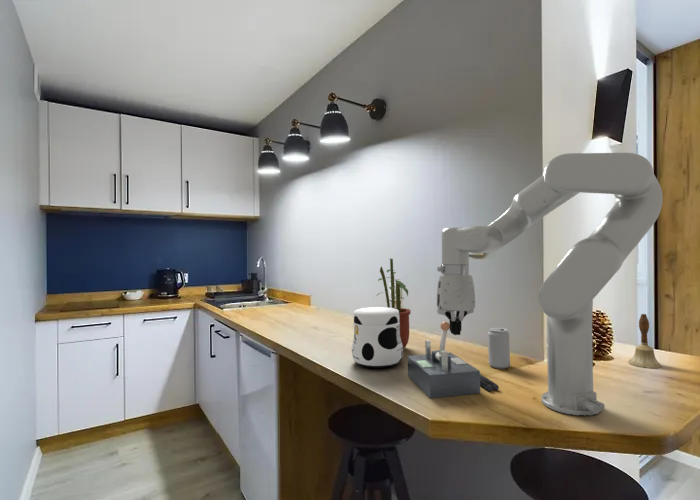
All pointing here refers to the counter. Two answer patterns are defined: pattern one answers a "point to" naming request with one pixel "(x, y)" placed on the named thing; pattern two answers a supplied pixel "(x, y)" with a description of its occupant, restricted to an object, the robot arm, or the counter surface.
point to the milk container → (377, 337)
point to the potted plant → (397, 303)
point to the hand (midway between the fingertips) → (455, 333)
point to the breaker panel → (443, 374)
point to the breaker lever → (442, 338)
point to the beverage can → (498, 348)
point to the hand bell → (644, 348)
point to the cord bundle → (488, 383)
